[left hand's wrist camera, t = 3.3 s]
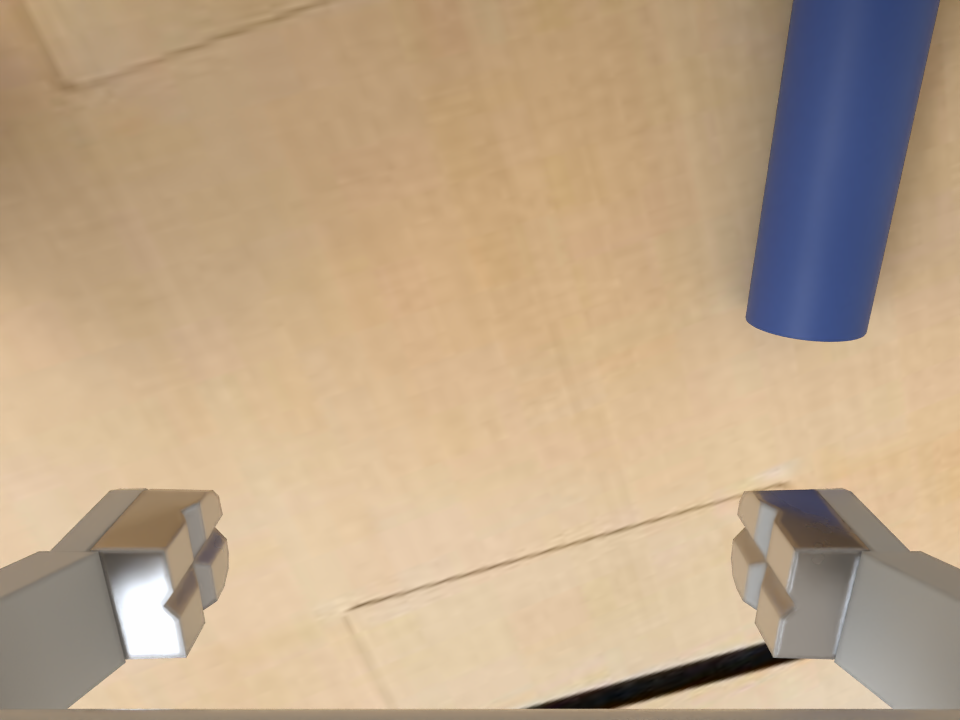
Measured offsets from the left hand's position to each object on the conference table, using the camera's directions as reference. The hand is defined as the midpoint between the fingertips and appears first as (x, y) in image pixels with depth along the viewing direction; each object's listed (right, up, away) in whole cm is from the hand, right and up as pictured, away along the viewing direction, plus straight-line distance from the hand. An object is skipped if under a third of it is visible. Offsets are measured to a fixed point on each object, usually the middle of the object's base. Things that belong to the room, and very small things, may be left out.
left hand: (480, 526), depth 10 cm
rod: (+18, +17, +24) cm, 34 cm away
